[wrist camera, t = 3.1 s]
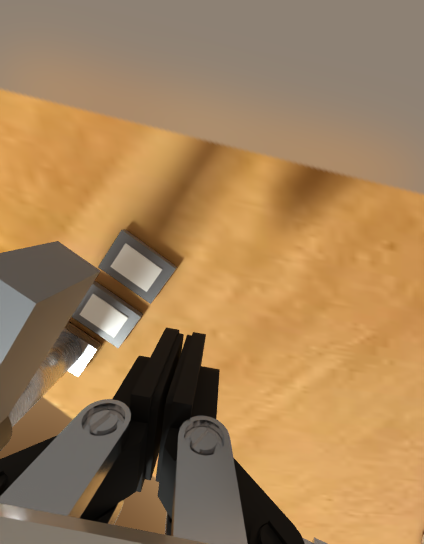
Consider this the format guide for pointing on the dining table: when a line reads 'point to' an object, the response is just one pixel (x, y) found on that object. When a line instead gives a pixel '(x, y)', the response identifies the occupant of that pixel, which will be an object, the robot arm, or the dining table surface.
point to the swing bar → (34, 313)
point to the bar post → (57, 367)
